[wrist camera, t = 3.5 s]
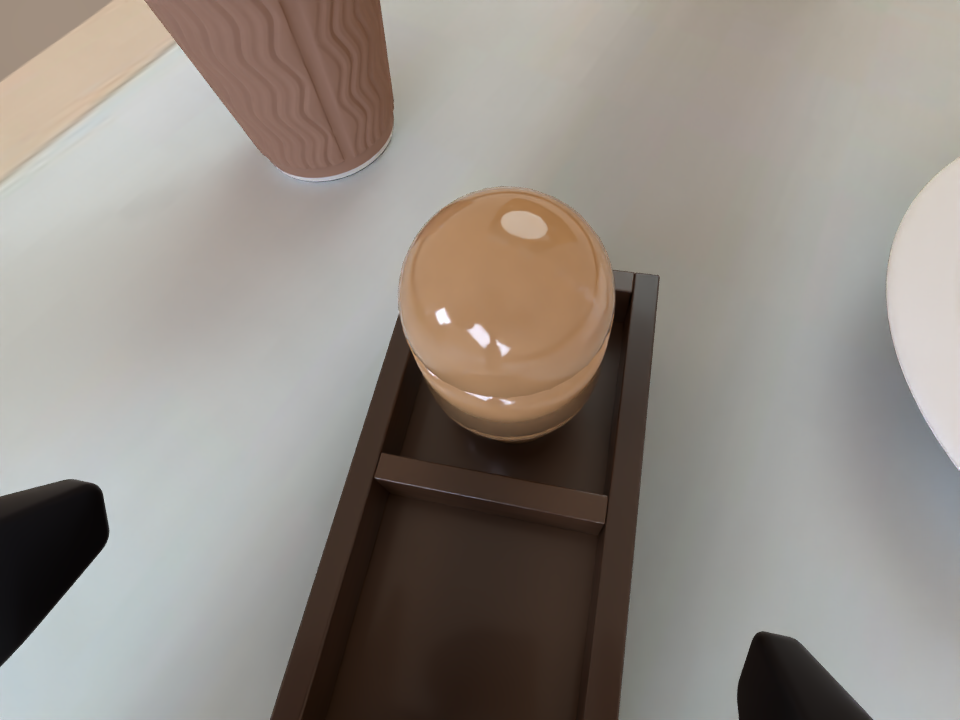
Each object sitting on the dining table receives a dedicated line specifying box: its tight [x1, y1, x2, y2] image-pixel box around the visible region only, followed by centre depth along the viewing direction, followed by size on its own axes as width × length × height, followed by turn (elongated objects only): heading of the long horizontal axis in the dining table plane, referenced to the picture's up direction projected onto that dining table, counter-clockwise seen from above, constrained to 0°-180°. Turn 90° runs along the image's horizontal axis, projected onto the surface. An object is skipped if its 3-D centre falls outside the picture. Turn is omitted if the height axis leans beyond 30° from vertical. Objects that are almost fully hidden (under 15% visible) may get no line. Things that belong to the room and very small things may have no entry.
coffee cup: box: [145, 0, 394, 182], centre depth 24 cm, size 10×10×12 cm
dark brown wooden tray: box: [270, 270, 660, 720], centre depth 18 cm, size 8×16×5 cm, turn 168°
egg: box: [398, 186, 615, 443], centre depth 15 cm, size 5×5×9 cm
